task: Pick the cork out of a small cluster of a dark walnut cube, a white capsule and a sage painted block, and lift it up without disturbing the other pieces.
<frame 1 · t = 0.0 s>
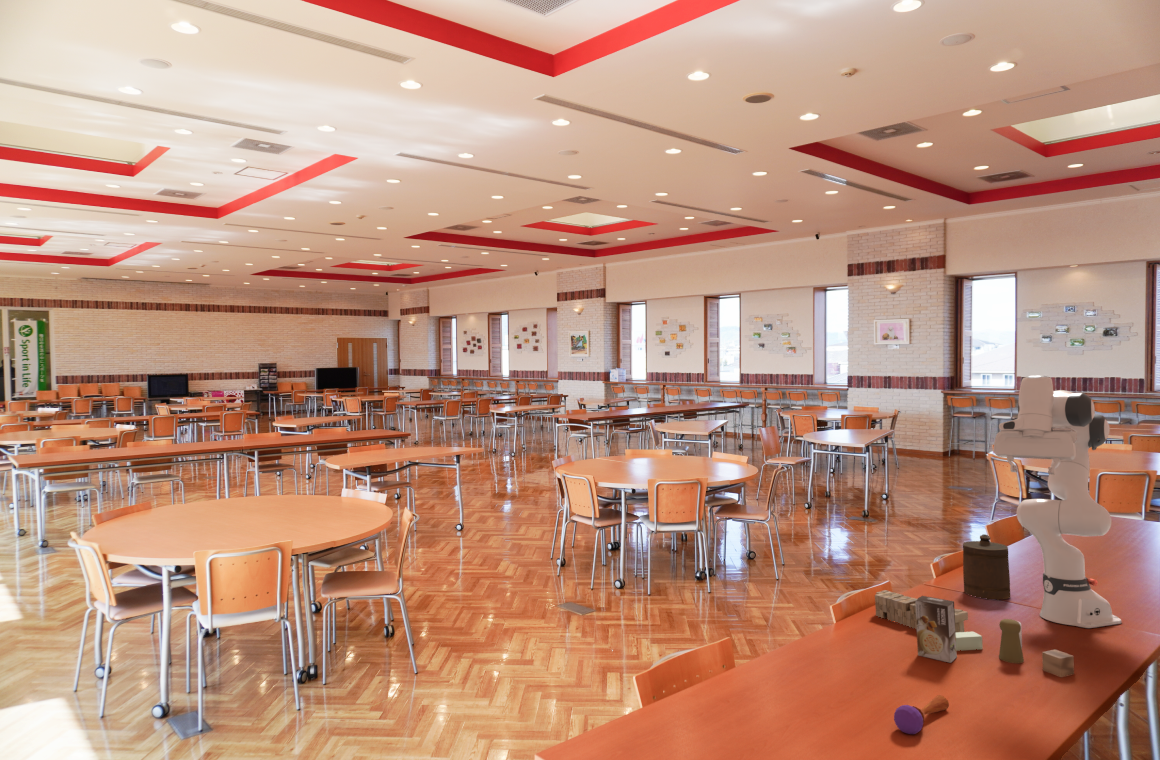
hand: (1032, 472, 201), 52 cm above the table, tool tilted 20°, fingers open, 8 cm apart
sage block: (965, 648, 205), on the table
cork: (1011, 659, 195), on the table
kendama: (923, 723, 161), on the table
coffee box: (937, 656, 199), on the table
walnut cube: (1058, 672, 186), on the table
wooden container: (986, 594, 255), on the table
white capsule: (1012, 646, 205), on the table
block tower: (917, 626, 224), on the table
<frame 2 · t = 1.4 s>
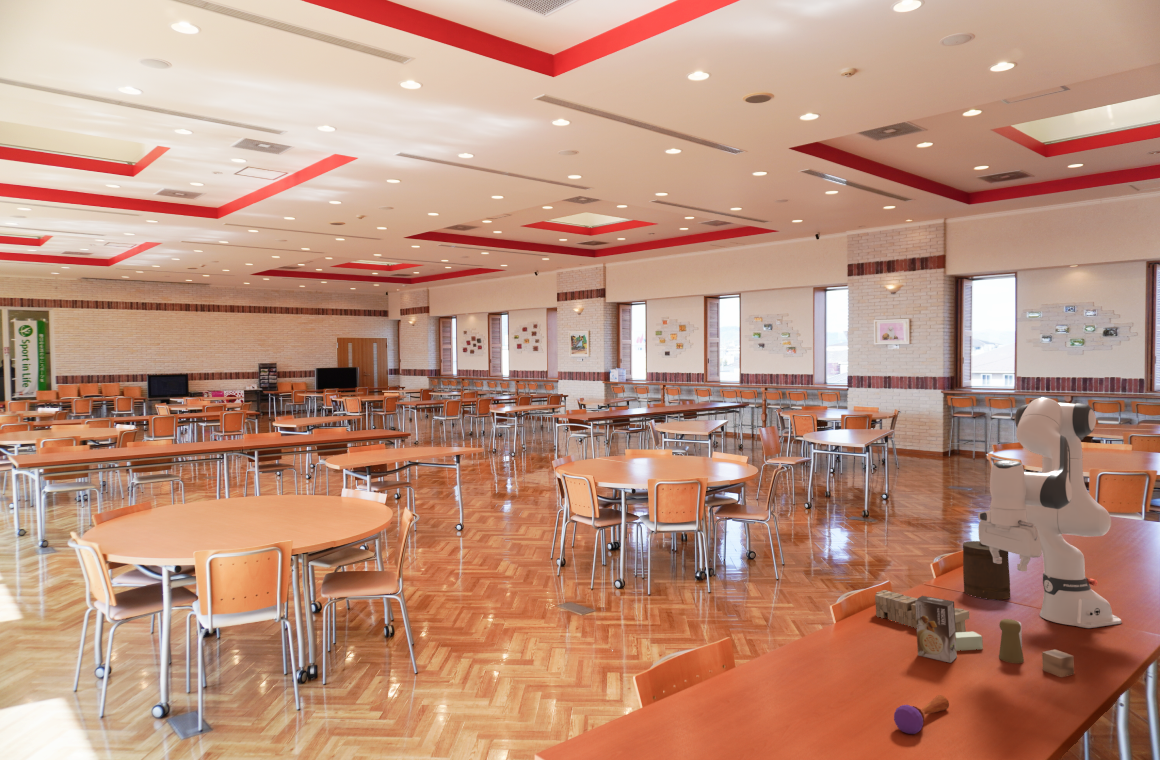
hand: (1009, 567, 195), 26 cm above the table, tool pointing down, fingers open, 8 cm apart
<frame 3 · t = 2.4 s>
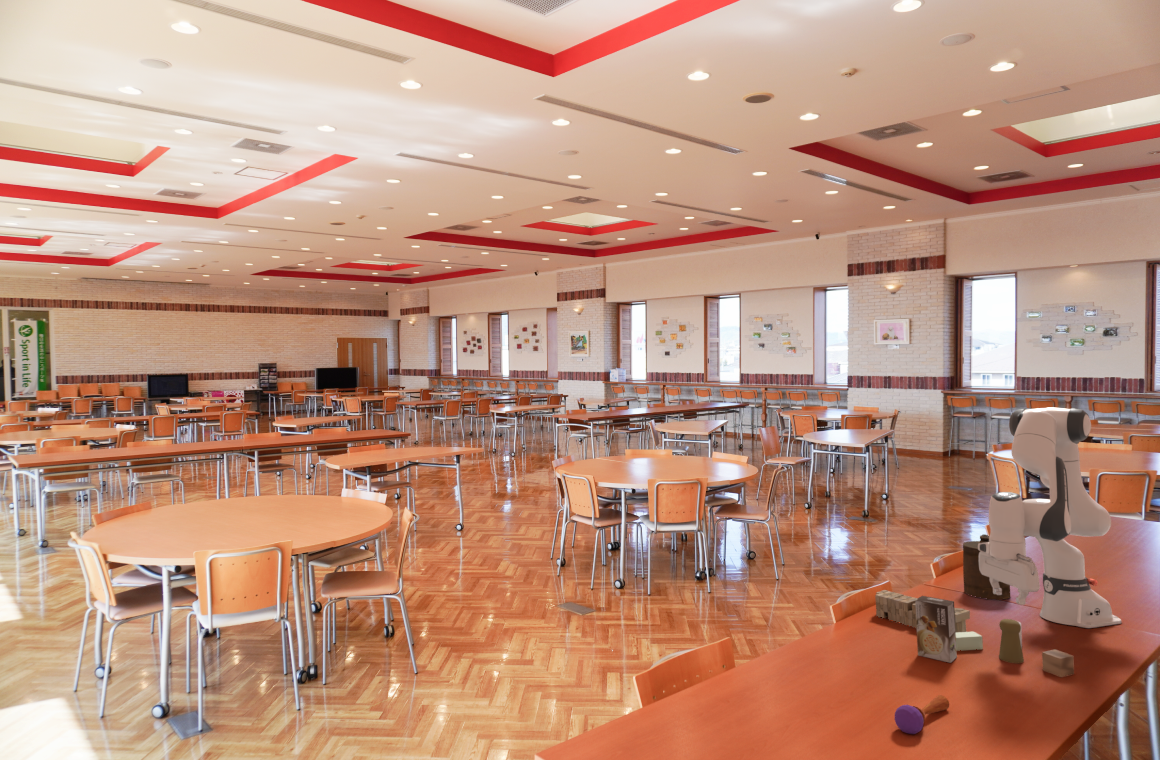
hand: (1008, 599, 195), 17 cm above the table, tool pointing down, fingers open, 8 cm apart
nothing on the table moved.
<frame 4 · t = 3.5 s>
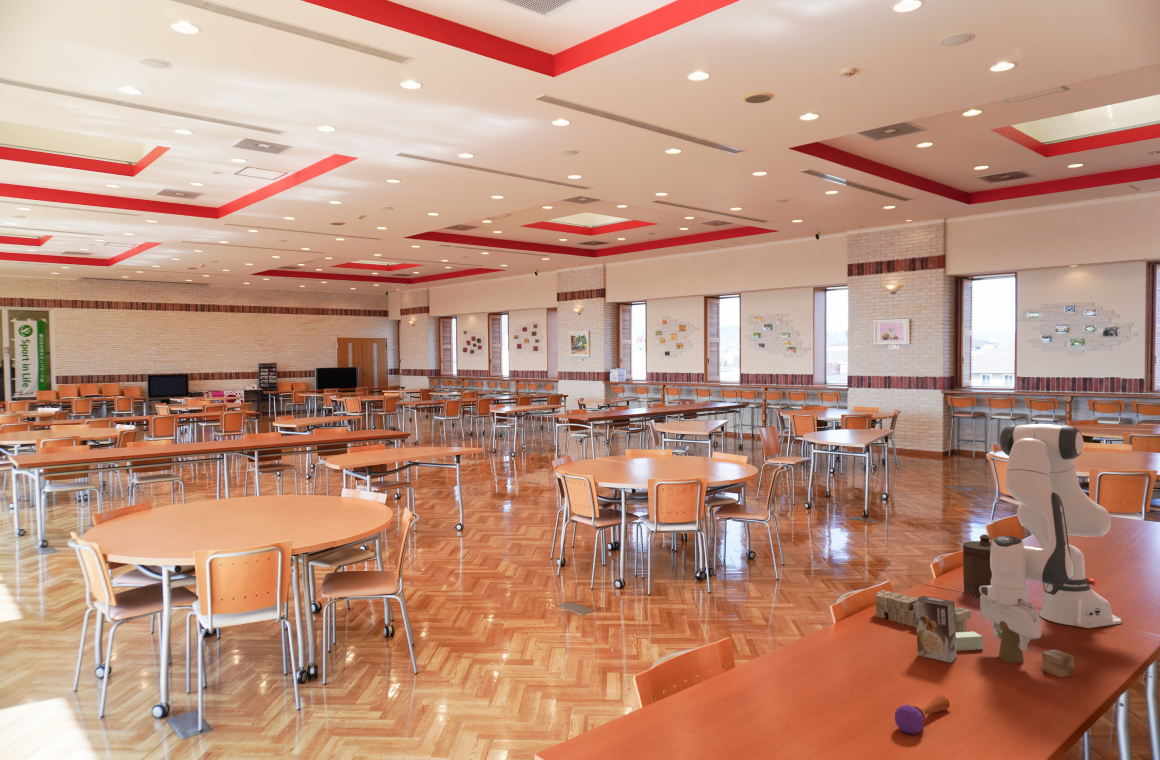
hand: (1010, 643, 195), 4 cm above the table, tool pointing down, fingers open, 8 cm apart
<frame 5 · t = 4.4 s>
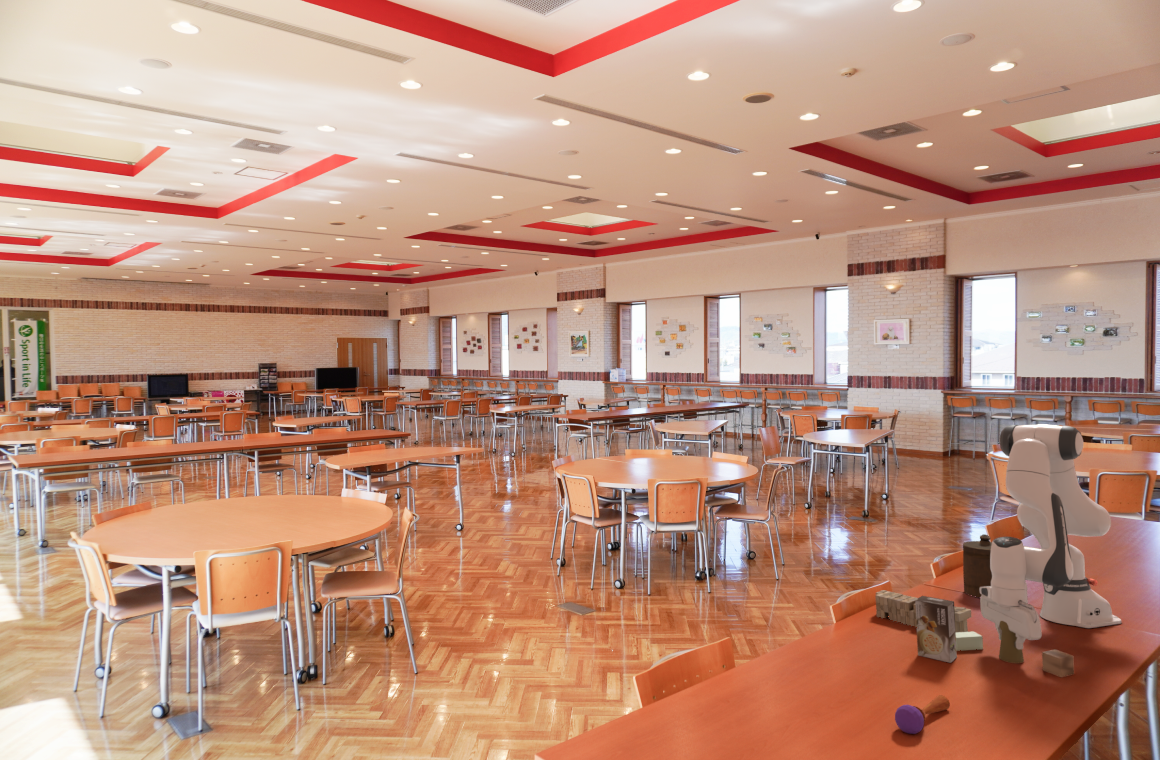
hand: (1010, 644, 195), 4 cm above the table, tool pointing down, fingers closed on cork, 5 cm apart
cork: (1011, 659, 195), on the table, touching gripper
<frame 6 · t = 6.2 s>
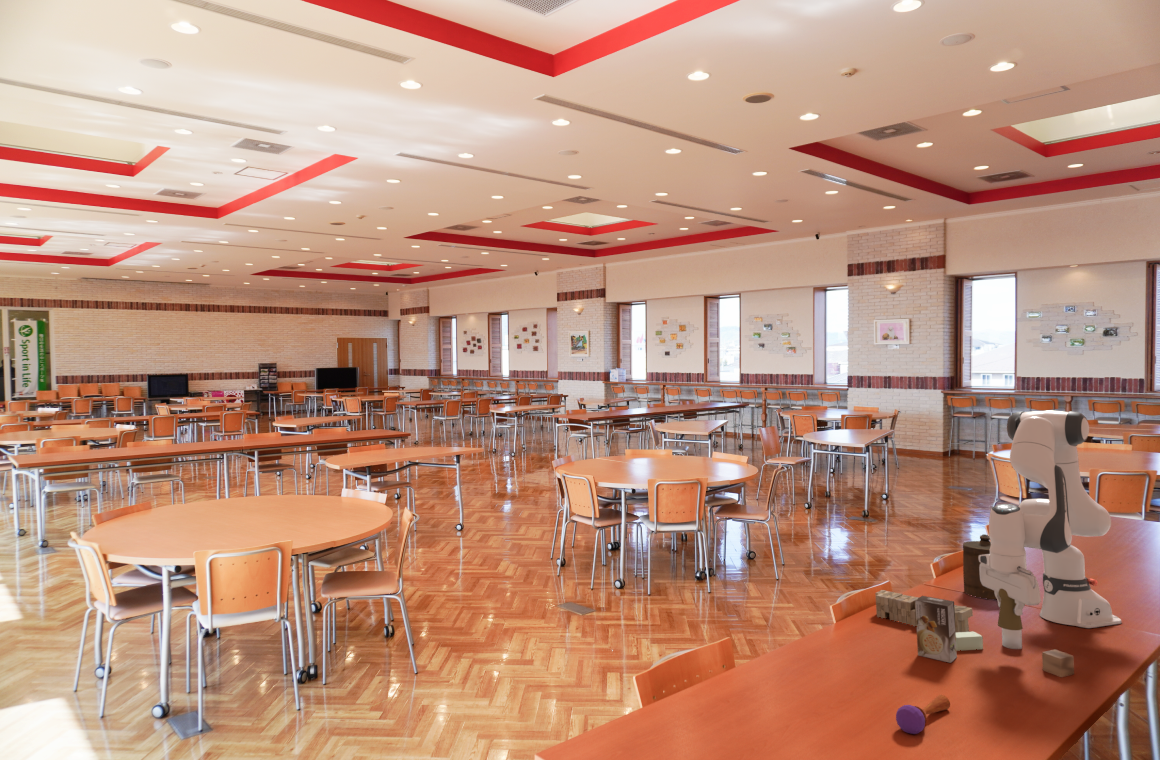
hand: (1010, 611, 196), 13 cm above the table, tool pointing down, fingers closed on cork, 5 cm apart
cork: (1010, 627, 196), point 9 cm above the table, touching gripper
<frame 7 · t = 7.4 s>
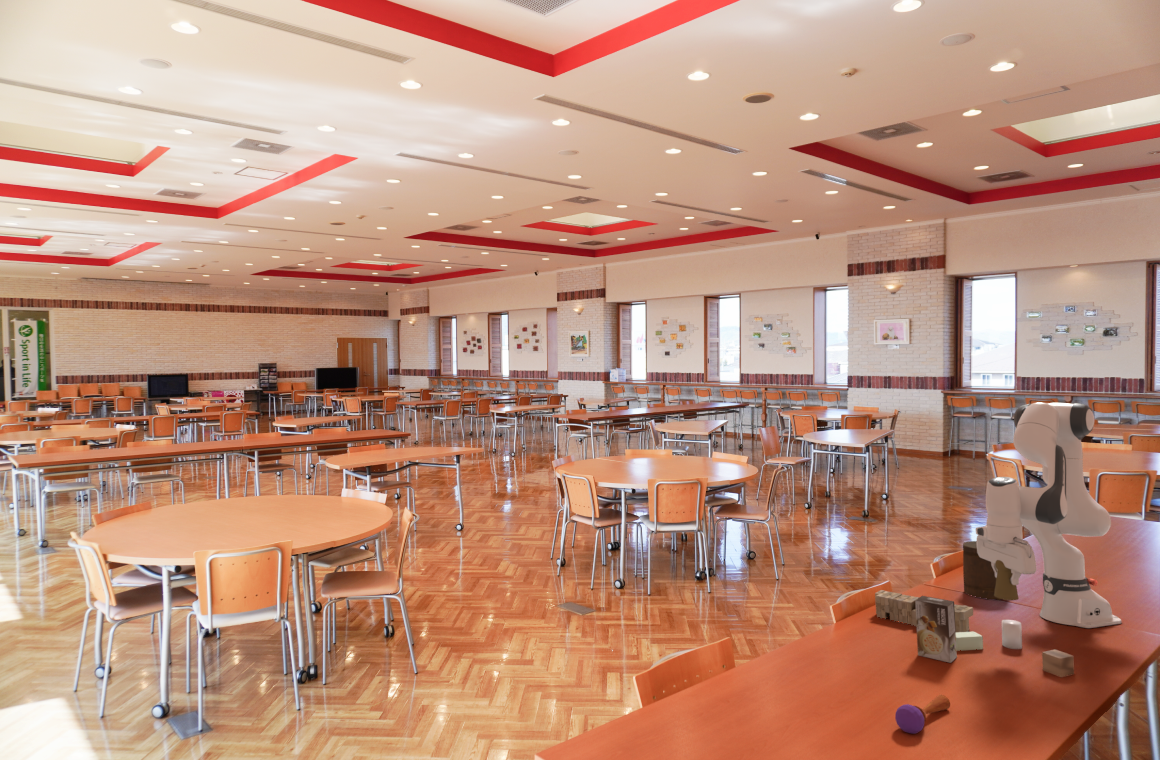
hand: (1006, 581, 200), 21 cm above the table, tool pointing down, fingers closed on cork, 5 cm apart
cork: (1006, 597, 200), point 16 cm above the table, touching gripper
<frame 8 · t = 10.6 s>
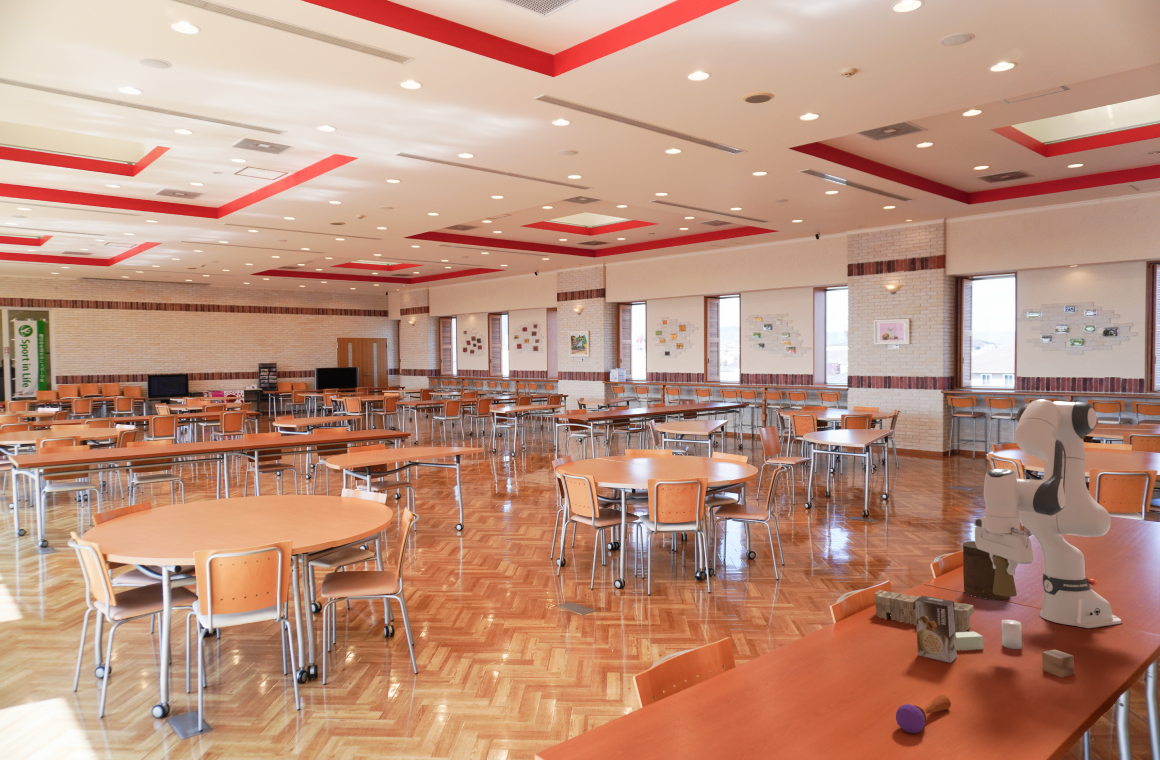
hand: (1003, 571, 202), 23 cm above the table, tool pointing down, fingers closed on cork, 4 cm apart
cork: (1004, 594, 202), point 16 cm above the table, touching gripper
at the end: the gripper is holding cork; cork point 16.4 cm above the table; sage block moved 0.3 cm from its start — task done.
